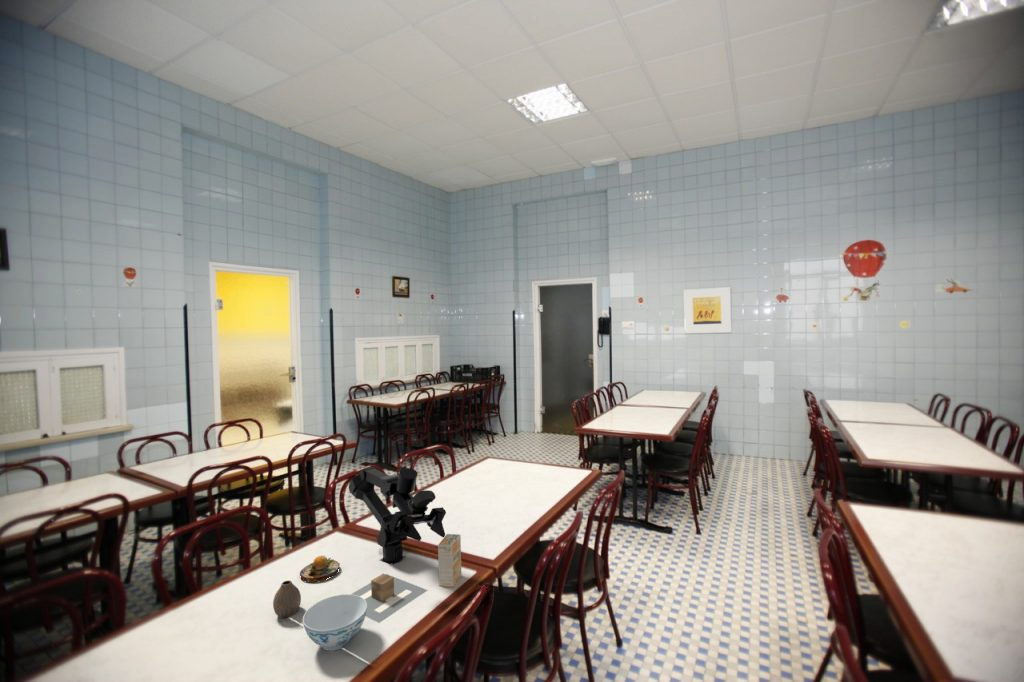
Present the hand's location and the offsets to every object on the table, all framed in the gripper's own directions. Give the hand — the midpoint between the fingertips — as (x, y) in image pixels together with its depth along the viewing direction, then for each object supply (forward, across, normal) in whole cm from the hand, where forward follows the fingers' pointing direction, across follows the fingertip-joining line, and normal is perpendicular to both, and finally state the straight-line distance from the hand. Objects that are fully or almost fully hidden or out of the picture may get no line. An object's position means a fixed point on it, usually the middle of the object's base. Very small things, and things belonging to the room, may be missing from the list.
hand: (432, 537), depth 138 cm
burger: (-25, -13, +33) cm, 43 cm away
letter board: (0, -8, +20) cm, 21 cm away
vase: (-11, -29, +30) cm, 43 cm away
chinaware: (+9, -26, +20) cm, 34 cm away
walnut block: (0, -9, +19) cm, 21 cm away
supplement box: (+6, +9, +12) cm, 17 cm away
